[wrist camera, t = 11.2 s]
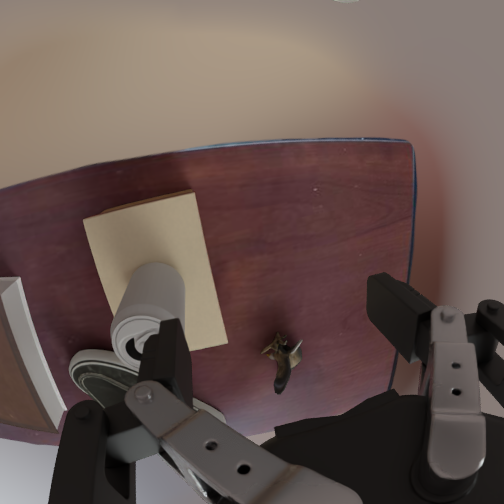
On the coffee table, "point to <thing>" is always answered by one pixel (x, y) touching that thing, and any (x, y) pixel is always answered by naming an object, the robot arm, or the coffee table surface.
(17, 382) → the book
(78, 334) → the coffee table surface
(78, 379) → the boat shoe
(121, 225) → the lidded cardboard box
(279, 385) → the eagle figurine
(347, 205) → the coffee table surface
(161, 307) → the beverage can
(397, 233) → the coffee table surface
